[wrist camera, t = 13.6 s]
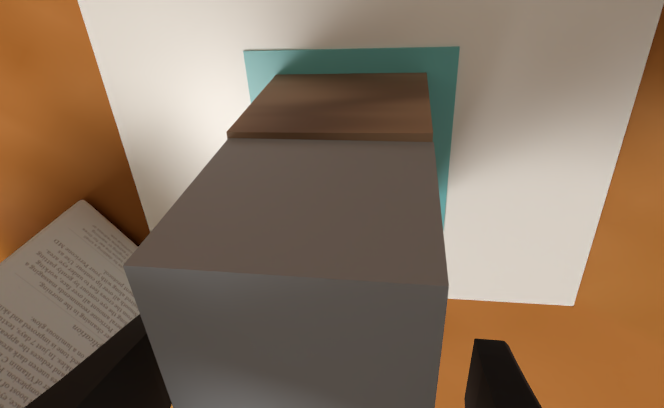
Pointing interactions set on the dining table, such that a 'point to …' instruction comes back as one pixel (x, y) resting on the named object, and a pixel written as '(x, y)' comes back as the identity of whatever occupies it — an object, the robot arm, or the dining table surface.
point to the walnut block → (340, 108)
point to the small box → (61, 301)
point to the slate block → (299, 278)
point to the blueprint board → (445, 103)
